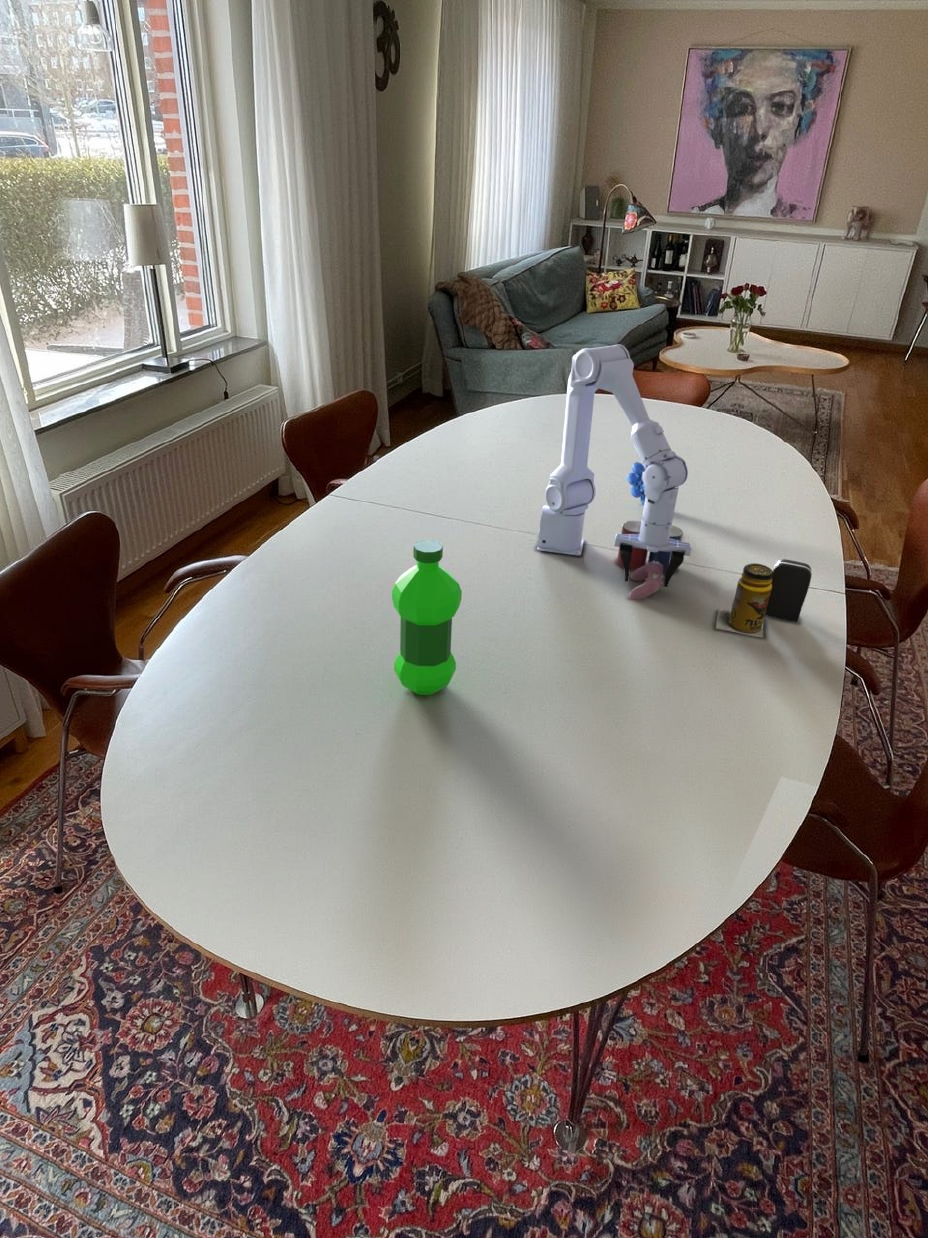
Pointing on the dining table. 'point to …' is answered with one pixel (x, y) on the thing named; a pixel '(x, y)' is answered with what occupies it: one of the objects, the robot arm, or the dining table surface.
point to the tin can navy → (664, 556)
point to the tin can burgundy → (637, 553)
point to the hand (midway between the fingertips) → (646, 582)
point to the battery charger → (788, 589)
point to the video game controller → (647, 580)
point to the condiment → (748, 602)
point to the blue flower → (637, 481)
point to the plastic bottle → (426, 621)
